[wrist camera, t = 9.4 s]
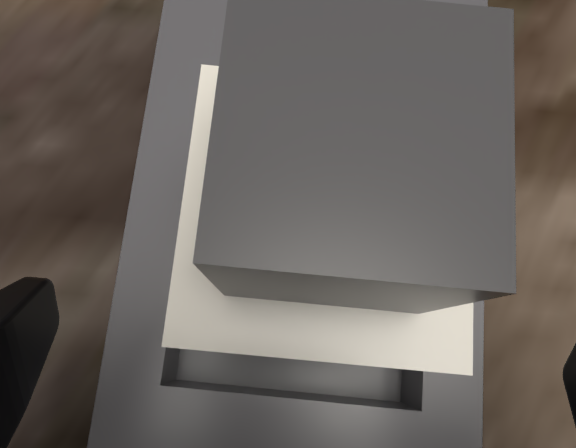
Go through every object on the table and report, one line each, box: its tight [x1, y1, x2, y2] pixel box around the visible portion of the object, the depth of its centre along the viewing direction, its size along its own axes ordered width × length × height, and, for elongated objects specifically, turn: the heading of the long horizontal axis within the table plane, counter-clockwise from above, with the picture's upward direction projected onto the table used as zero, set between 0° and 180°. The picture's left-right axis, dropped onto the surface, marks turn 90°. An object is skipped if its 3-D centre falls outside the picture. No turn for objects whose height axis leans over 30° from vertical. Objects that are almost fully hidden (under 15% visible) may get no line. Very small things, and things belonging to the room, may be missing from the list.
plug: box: [161, 0, 516, 376], centre depth 12 cm, size 5×5×13 cm
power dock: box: [87, 0, 488, 448], centre depth 17 cm, size 20×11×4 cm, turn 174°
